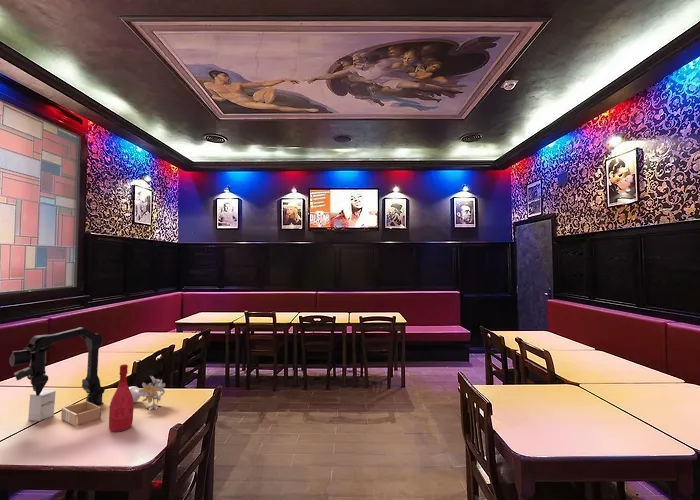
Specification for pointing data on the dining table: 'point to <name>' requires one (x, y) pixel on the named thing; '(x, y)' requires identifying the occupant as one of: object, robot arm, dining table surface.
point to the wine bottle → (121, 405)
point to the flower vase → (148, 392)
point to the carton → (85, 412)
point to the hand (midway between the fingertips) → (36, 393)
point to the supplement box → (41, 405)
